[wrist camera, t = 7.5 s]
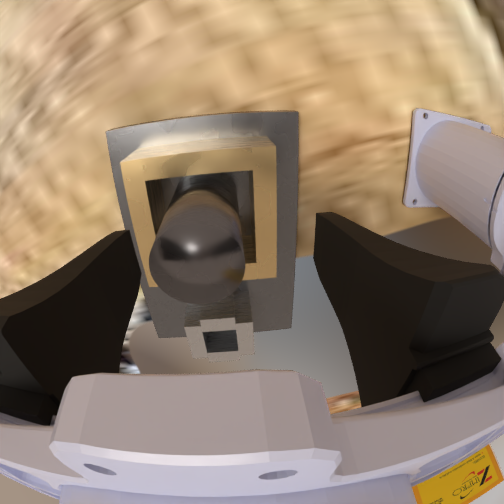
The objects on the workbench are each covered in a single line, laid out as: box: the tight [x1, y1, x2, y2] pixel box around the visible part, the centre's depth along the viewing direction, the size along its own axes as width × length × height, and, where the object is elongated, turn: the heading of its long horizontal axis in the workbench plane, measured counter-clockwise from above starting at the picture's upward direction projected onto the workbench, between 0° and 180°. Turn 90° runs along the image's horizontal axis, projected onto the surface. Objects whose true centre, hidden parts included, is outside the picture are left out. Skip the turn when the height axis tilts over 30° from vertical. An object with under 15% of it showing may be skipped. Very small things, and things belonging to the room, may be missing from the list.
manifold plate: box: [106, 111, 298, 362], centre depth 20 cm, size 12×18×4 cm, turn 2°
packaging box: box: [412, 444, 504, 504], centre depth 37 cm, size 16×16×25 cm
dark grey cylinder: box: [149, 172, 245, 304], centre depth 15 cm, size 4×4×8 cm
